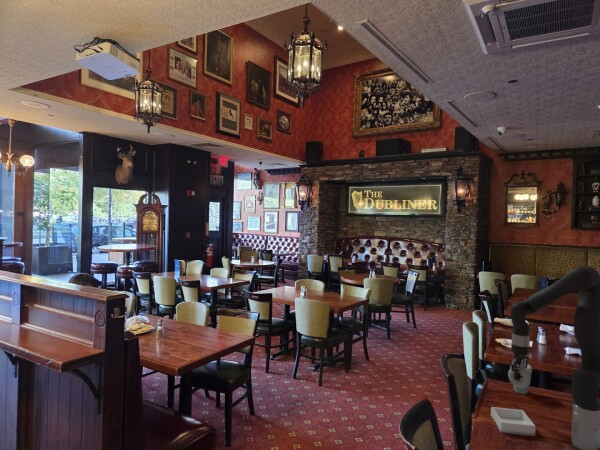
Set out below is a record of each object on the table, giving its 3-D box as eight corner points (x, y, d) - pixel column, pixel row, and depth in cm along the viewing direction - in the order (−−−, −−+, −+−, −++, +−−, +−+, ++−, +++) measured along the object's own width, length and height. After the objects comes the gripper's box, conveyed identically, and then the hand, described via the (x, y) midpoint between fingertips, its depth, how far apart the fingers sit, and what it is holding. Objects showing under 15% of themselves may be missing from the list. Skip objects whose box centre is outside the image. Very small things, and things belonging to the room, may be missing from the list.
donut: (506, 384, 191) (507, 364, 190) (509, 382, 193) (510, 362, 192) (528, 392, 183) (528, 371, 182) (531, 390, 185) (532, 369, 184)
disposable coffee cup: (534, 397, 208) (535, 369, 208) (512, 394, 210) (513, 367, 210) (527, 388, 218) (528, 361, 218) (506, 386, 221) (507, 359, 220)
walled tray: (522, 419, 185) (522, 410, 184) (535, 436, 171) (535, 426, 171) (490, 416, 187) (491, 406, 187) (500, 432, 173) (501, 422, 173)
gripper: (521, 348, 180) (519, 385, 180) (535, 343, 188) (534, 378, 188) (504, 343, 186) (503, 379, 187) (519, 338, 194) (518, 373, 195)
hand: (519, 378), depth 188 cm, fingers closed on donut, 3 cm apart
